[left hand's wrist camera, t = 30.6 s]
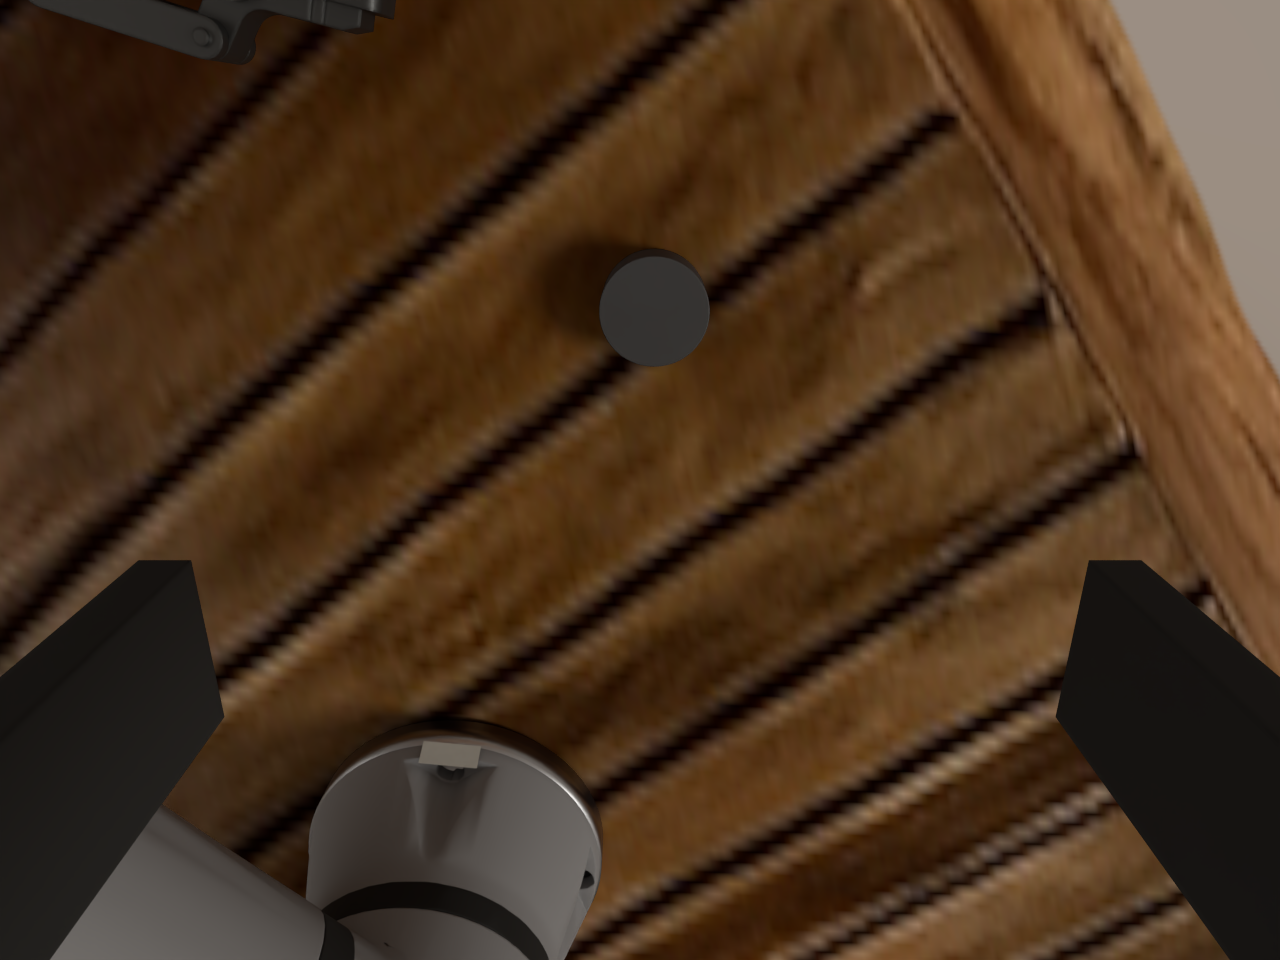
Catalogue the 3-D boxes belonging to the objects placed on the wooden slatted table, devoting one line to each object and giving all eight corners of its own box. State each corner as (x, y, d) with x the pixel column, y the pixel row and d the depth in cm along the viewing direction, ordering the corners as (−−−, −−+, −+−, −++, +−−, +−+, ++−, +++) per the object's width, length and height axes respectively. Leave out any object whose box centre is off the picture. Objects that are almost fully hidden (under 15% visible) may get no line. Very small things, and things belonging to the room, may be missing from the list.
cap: (719, 265, 36) (723, 273, 33) (688, 364, 37) (691, 378, 35) (617, 235, 35) (615, 242, 33) (591, 337, 37) (587, 350, 35)
